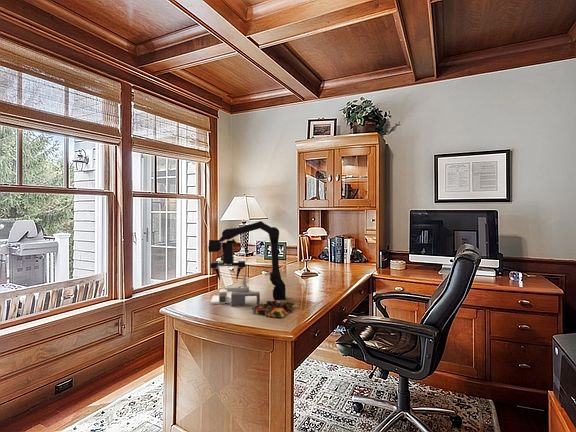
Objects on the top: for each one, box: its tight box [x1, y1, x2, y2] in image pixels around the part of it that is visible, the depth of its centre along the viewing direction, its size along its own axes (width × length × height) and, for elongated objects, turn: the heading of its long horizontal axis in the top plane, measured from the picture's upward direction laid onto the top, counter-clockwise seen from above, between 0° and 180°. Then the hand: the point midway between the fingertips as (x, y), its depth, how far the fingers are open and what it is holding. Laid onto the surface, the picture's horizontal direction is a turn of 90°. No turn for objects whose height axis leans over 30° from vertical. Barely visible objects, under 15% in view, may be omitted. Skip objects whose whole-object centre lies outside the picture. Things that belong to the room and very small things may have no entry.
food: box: [252, 300, 296, 319], centre depth 170 cm, size 22×19×4 cm
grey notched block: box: [230, 291, 261, 307], centre depth 181 cm, size 14×5×6 cm, turn 97°
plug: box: [218, 289, 228, 302], centre depth 188 cm, size 4×12×4 cm, turn 7°
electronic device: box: [224, 274, 250, 292], centre depth 212 cm, size 5×10×15 cm
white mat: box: [209, 294, 231, 305], centre depth 189 cm, size 12×14×1 cm
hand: (228, 280), depth 190 cm, fingers open, 9 cm apart
